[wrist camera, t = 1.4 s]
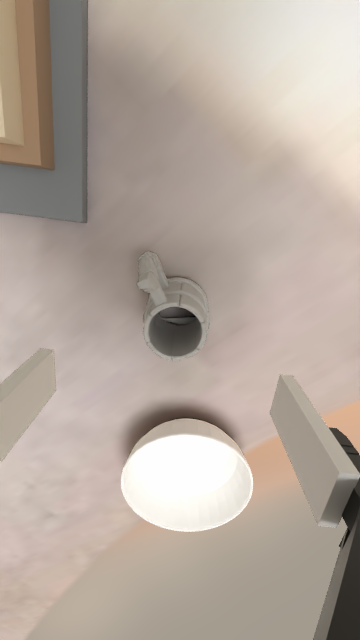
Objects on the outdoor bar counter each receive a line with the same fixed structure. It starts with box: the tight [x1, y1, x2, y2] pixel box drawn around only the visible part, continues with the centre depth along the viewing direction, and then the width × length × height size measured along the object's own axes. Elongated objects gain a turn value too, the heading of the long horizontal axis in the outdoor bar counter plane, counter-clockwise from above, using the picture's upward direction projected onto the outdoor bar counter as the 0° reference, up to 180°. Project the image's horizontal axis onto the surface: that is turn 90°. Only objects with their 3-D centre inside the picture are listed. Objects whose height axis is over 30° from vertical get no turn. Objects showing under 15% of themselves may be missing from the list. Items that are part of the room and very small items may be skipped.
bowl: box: [121, 418, 253, 532], centre depth 41 cm, size 18×18×7 cm
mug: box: [137, 251, 209, 361], centre depth 30 cm, size 8×12×12 cm, turn 26°
